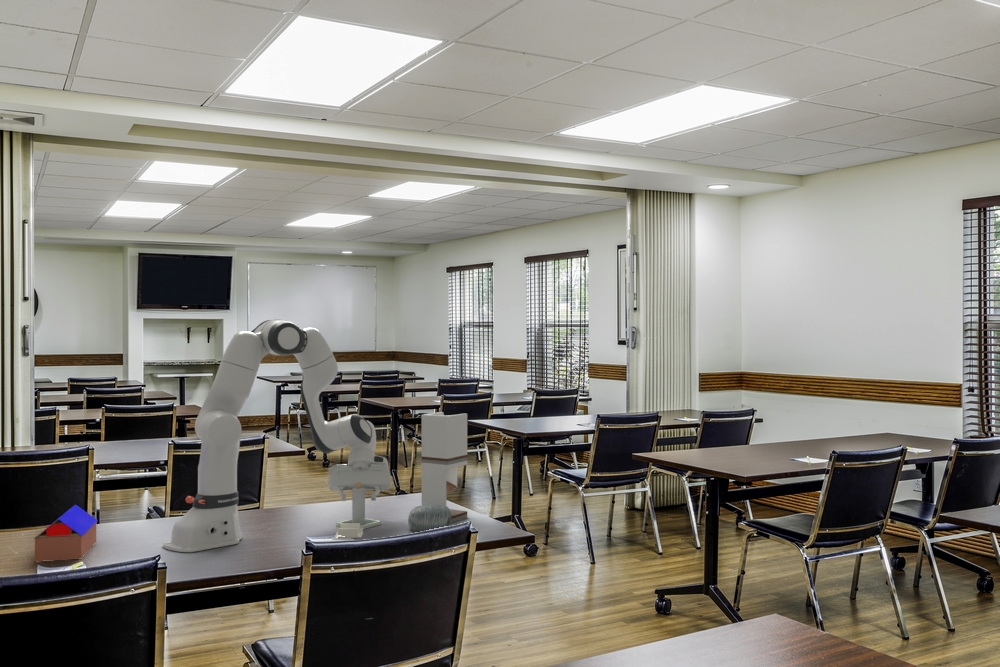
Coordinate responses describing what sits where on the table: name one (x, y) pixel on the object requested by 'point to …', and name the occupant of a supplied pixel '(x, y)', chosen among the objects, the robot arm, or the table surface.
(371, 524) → the tray
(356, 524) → the white toy chair
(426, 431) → the notched white block
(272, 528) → the table surface
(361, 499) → the gray bottle
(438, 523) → the grey furry rounded block
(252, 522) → the table surface
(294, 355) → the robot arm
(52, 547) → the house
